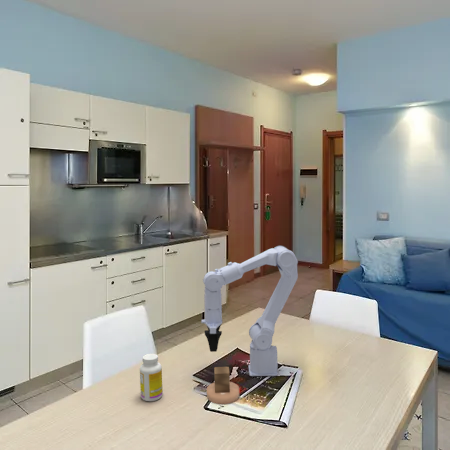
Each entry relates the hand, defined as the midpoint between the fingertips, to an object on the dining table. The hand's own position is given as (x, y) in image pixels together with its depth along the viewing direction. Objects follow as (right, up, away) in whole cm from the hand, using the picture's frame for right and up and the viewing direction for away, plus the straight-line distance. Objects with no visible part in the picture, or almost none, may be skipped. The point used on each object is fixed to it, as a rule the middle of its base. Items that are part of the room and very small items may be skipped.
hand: (213, 346), depth 142 cm
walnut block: (+3, -9, -13) cm, 16 cm away
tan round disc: (+3, -12, -13) cm, 18 cm away
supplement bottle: (-19, -12, -13) cm, 26 cm away
